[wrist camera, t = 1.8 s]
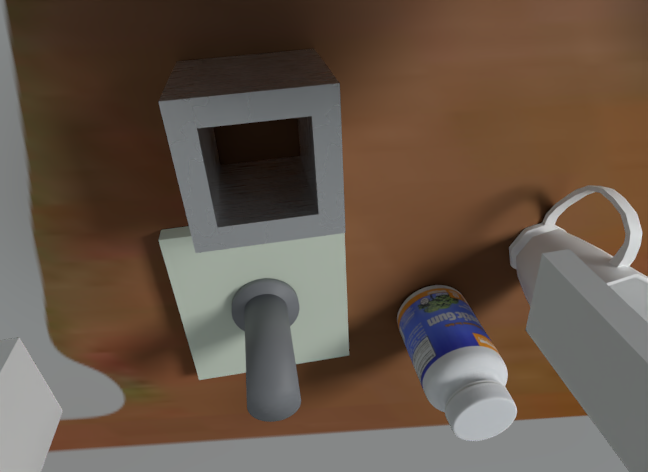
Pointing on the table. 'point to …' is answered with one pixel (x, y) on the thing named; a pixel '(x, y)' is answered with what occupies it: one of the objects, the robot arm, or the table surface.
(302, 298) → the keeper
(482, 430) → the pill bottle
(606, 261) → the cup
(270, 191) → the hollow grey square tube
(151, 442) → the table surface
